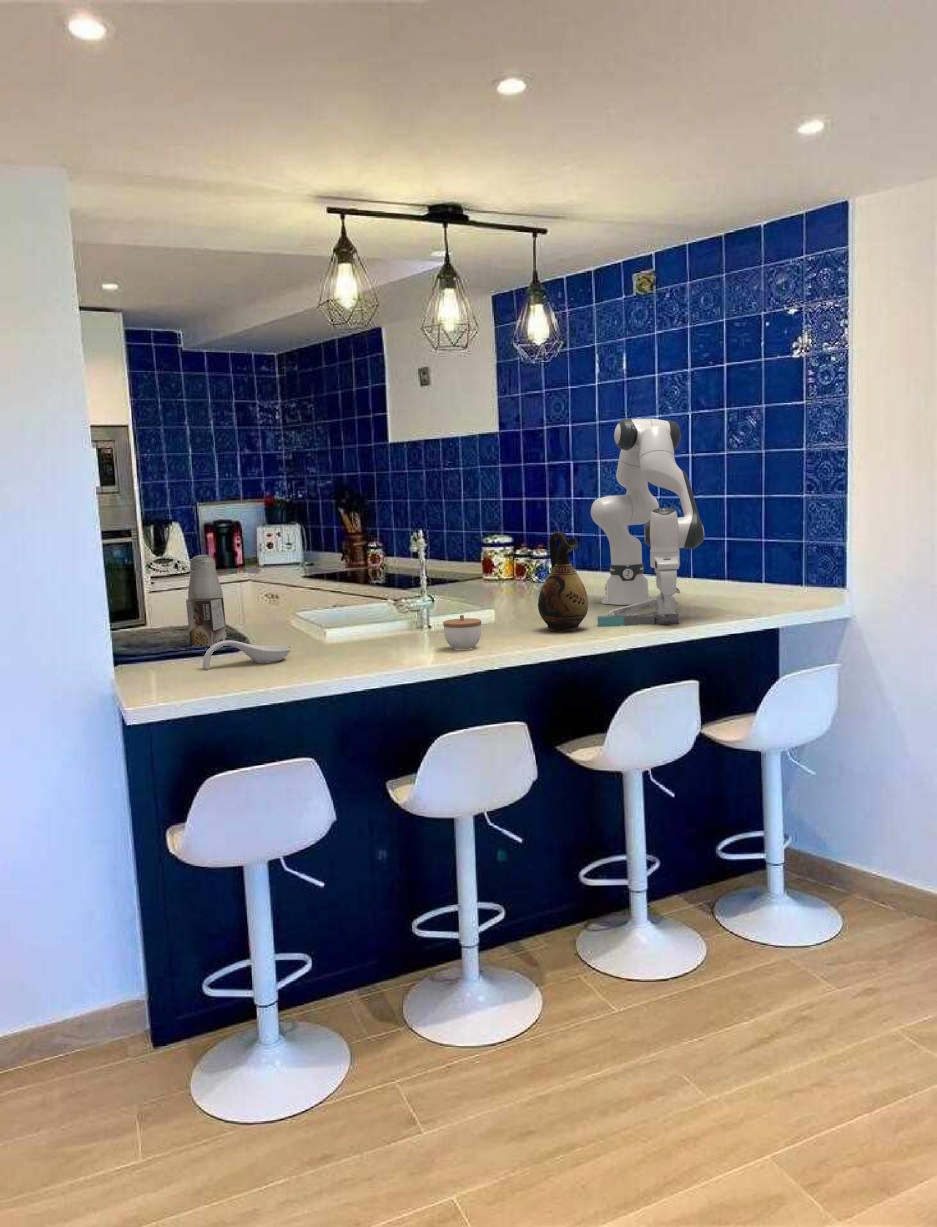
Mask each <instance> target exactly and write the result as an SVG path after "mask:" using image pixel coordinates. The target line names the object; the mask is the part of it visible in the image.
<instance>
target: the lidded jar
mask: <svg viewBox="0 0 937 1227" xmlns="http://www.w3.org/2000/svg"><path fill="white" fill-rule="evenodd" d="M442 624H443V625H442V626H443V633H444V637H445V638H444V639H445V641H446V643H447V644H448V645H449V646H450V647H451V648H452V649H453V648H454V649H469V650H471V649H470V648H473V649H475V647H476V646H477V644H478V643H479V641H480V639H481V637H482V636H481V635H482V620H481V619H479V618H469V617H467V618H466V617H464V614H461V615H459V618H452V619H447V620H444V621H443V622H442ZM454 649H453V650H454Z"/></svg>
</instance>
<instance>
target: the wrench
mask: <svg viewBox="0 0 937 1227" xmlns="http://www.w3.org/2000/svg"><path fill="white" fill-rule="evenodd" d="M675 594H681V590H680V589H679V588H678V587H676V591H675ZM671 596H673V595H671ZM656 597H661V594H658V595H657V596H655V597H654V598H653V599H651V600H647V601H643V602H640V603H636V604H630V605H624V606H620V607H618V608H615V609H611V610H609V611H608V613H607V616H609V615H612V614H613V613H614V615H623V616H632V615H636V614H637V613H641V612H644V611H647V610H650V609H654V608H657V599H656ZM678 604H679V602H677V601H675V607H677V606H678Z"/></svg>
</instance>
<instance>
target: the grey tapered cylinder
mask: <svg viewBox="0 0 937 1227" xmlns="http://www.w3.org/2000/svg"><path fill="white" fill-rule="evenodd" d="M189 570H190V571H189V572H190V573H189V583H188V592H187V598H188V599H187V601H189V600H192V599H196V598H223V599H224V593H223V589H222V586H221V583H220V580H219V578H218V577H219V576H218V573H217V570H216V562H215V560H214V559H213V557H212V556H211V555H208V554H197V555H194V556H193V557H192V558H191V560H190V564H189Z"/></svg>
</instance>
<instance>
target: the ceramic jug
mask: <svg viewBox="0 0 937 1227" xmlns="http://www.w3.org/2000/svg"><path fill="white" fill-rule="evenodd" d="M558 542H559V543H558ZM557 544H558V546H557ZM548 545H549V555H550V556H549V557H550V560H551V561H550V562H551V570H550V571H549V573H548V575H547V576H546V577H545V580H544V582H543V584H542V586H541V588H540V591H539V594H538V598H537V599H538V601H537V609H538V613H539V616H540V617H541V619H542V621H544V623H545V624H546V625H547V631H550V632H553V633H557V632H558V633H561V632H563V633H566V632H568V633H569V632H573V631H577V630H579V629H578V628H579V626H580V624H581V623H582V621H583V620H584V619H585V617H586V616H587V614H588V610H589V599H588V595H587V594H588V593H587V590H586V587H585V585H584V583H583V581H582V579H581V577H580V576H579V574H578V573H577V571H576V570H575V568H574V567H573V565H572V563H571V562H570V557H569V553H570V552H572V551H574V550H576V549H577V548H579V543H578V540H577V539H576V538H575V537H571V538H570V539H568V538H567V535H566V533H564V532H562V531H559V530H558V531H555V532H554V533H552V534H551V536H550V537H549V543H548Z"/></svg>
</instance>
